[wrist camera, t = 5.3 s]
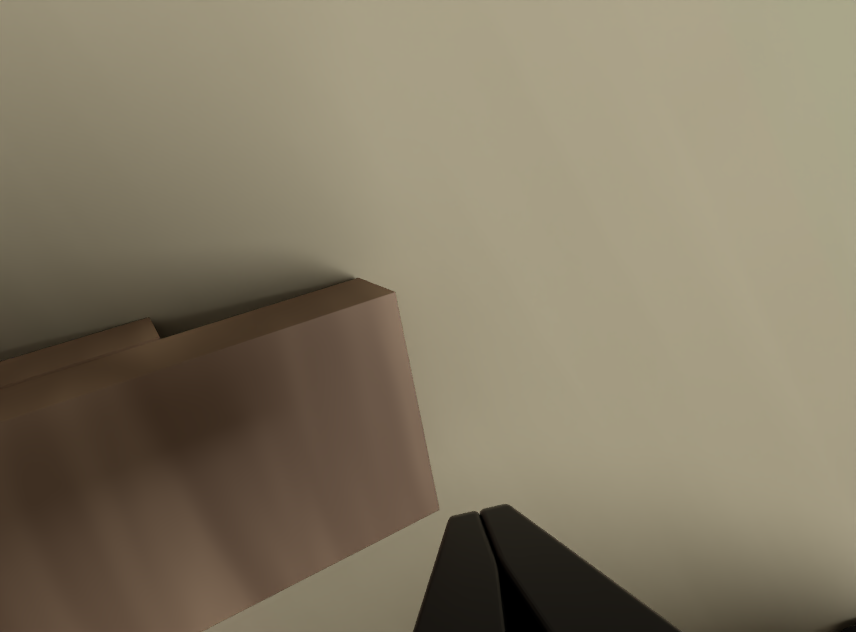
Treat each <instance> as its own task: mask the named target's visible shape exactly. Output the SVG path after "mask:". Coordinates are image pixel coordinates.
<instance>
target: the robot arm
mask: <svg viewBox="0 0 856 632" xmlns="http://www.w3.org/2000/svg"><path fill="white" fill-rule="evenodd" d="M413 632H682V631H681V630H679V629H678V628H677V627H675V626H674V625H672V624H671V623H670V622H668V621H667V620H666V619H664V618H663V617H662V616H660V615H659V614H657V613H656V612H655V611H653V610H652V609H651V608H649V607H648V606H647V605H645V604H644V603H642V602H641V601H640V600H638V599H637V598H636V597H634V596H633V595H632V594H630V593H629V592H627V591H626V590H625V589H623V588H622V587H621V586H619V585H618V584H617V583H615V582H614V581H612V580H611V579H610V578H608V577H607V576H606V575H604V574H603V573H602V572H600V571H599V570H597V569H596V568H595V567H593V566H592V565H591V564H589V563H588V562H587V561H585V560H584V559H582V558H581V557H580V556H578V555H577V554H576V553H574V552H573V551H572V550H570V549H569V548H567V547H566V546H565V545H563V544H562V543H561V542H559V541H558V540H557V539H555V538H554V537H552V536H551V535H550V534H548V533H547V532H546V531H544V530H543V529H542V528H540V527H539V526H537V525H536V524H535V523H533V522H532V521H531V520H529V519H528V518H527V517H525V516H524V515H523V514H521V513H520V512H518V511H517V510H516V509H514V508H513V507H512V506H510V505H508V504H502V505H498V506H494V507H489V508H485V509H482V510H481V511H480V515H479V513H478V512H476V511H472V512H467V513H463V514H458V515H454V516H451V517H450V518H449V520H448V523H447V526H446V529H445V532H444V535H443V538H442V542H441V545H440V548H439V551H438V554H437V557H436V561H435V564H434V567H433V570H432V573H431V576H430V580H429V583H428V586H427V589H426V592H425V595H424V598H423V602H422V605H421V608H420V611H419V614H418V617H417V621H416V624H415V627H414V630H413ZM841 632H856V625H855V626H851V627H848V628H846V629H844V630H843V631H841Z"/></svg>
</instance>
